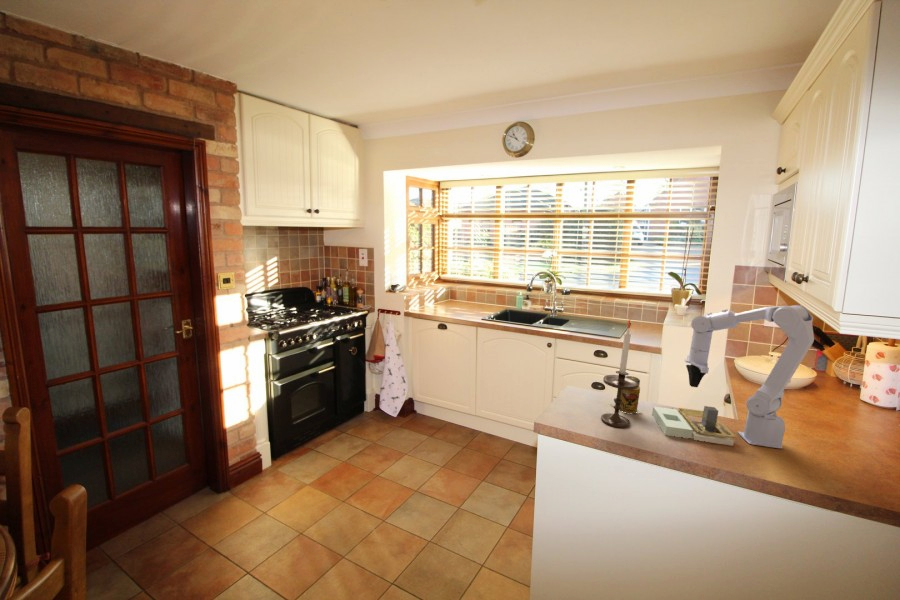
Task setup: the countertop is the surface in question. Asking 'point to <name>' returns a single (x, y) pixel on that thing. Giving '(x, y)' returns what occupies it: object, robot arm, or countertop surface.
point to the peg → (708, 419)
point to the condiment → (630, 399)
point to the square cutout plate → (672, 422)
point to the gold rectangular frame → (699, 413)
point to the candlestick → (620, 387)
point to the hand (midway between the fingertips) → (693, 386)
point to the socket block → (712, 437)
